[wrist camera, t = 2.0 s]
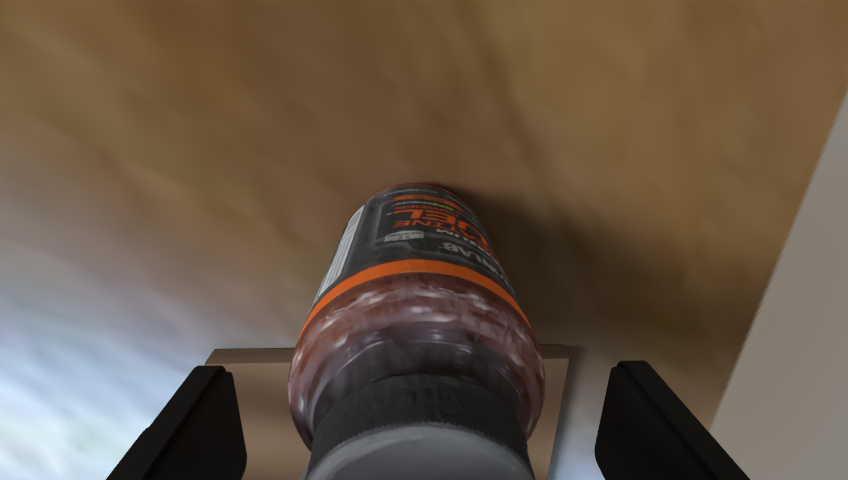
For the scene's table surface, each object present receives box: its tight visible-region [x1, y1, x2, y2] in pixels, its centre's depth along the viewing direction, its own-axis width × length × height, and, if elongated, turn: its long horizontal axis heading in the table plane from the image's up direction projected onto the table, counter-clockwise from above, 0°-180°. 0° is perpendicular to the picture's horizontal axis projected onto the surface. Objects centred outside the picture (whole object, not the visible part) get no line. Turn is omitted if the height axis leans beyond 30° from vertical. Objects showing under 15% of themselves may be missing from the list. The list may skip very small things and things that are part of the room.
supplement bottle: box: [287, 183, 545, 480], centre depth 12 cm, size 6×6×11 cm
